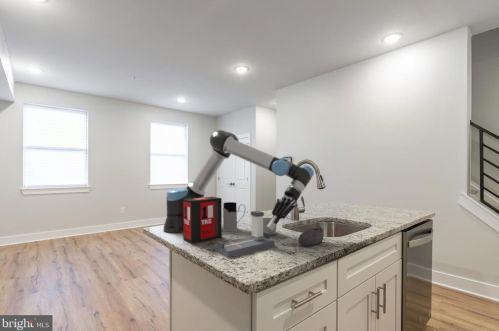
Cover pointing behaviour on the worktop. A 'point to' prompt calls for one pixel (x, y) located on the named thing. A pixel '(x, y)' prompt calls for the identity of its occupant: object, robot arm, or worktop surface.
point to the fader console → (243, 246)
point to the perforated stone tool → (311, 237)
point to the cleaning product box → (202, 219)
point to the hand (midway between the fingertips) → (269, 228)
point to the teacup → (265, 228)
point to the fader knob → (257, 225)
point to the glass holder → (230, 216)
